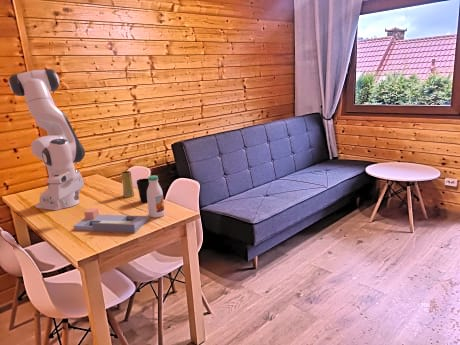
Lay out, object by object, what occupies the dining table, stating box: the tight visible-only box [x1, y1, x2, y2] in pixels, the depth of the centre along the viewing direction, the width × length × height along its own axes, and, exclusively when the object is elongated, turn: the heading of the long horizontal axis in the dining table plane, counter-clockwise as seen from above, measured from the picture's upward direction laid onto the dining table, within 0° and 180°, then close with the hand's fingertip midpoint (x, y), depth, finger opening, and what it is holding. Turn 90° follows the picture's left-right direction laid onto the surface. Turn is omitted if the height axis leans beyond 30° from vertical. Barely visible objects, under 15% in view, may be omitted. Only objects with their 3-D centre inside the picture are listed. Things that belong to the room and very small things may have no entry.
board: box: [73, 213, 149, 234], centre depth 167 cm, size 30×15×4 cm, turn 79°
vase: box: [120, 170, 135, 198], centre depth 206 cm, size 6×6×14 cm
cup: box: [136, 177, 149, 204], centre depth 196 cm, size 8×8×12 cm
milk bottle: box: [147, 174, 166, 219], centre depth 174 cm, size 8×8×20 cm
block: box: [83, 208, 100, 219], centre depth 172 cm, size 4×4×4 cm
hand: (71, 203), depth 167 cm, fingers open, 8 cm apart
